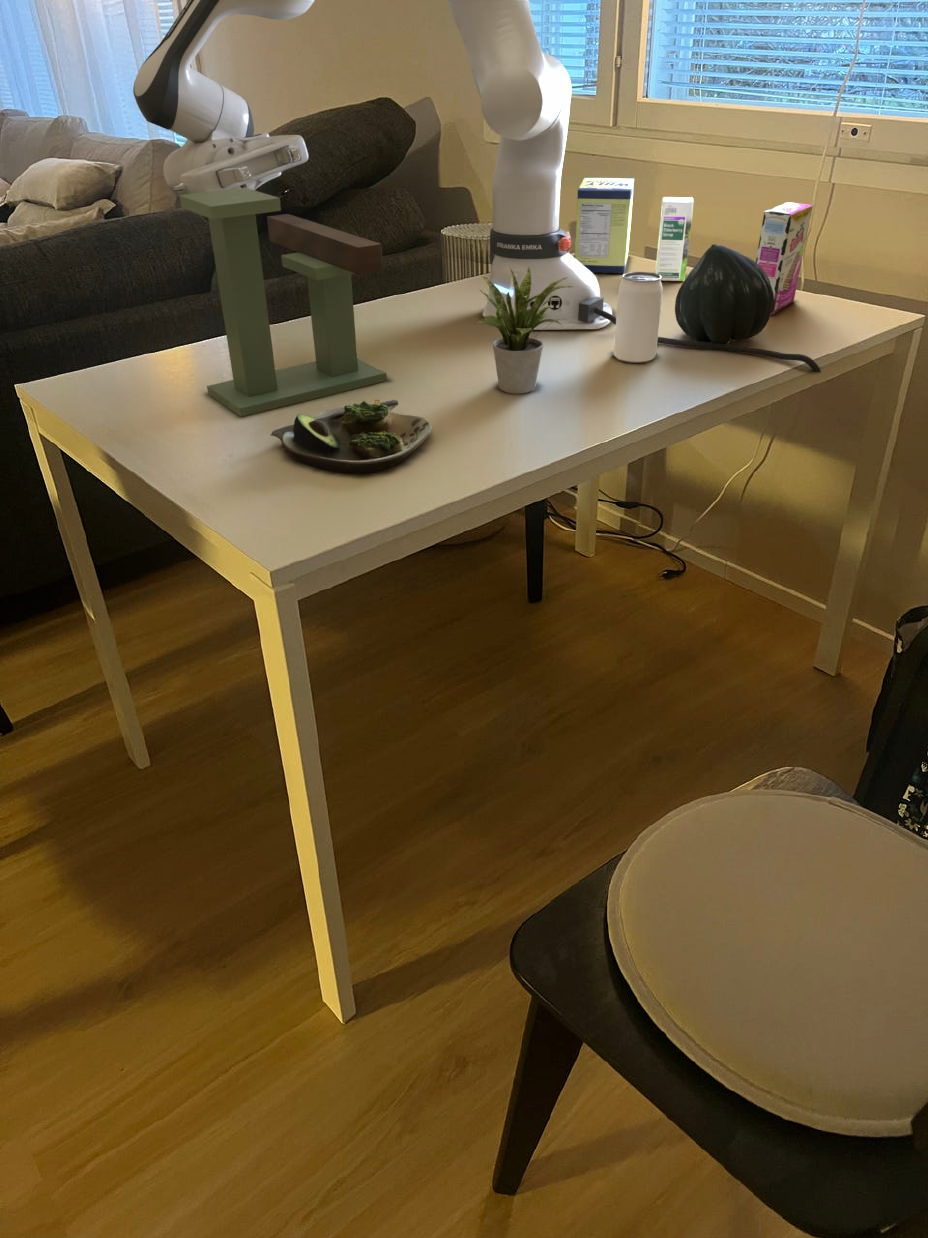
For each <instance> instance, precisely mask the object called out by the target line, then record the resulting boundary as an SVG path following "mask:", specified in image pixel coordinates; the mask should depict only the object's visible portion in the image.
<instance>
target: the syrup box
mask: <svg viewBox="0 0 928 1238" xmlns="http://www.w3.org/2000/svg"><path fill="white" fill-rule="evenodd" d="M694 204H695V203H694V198H693V197H692V196H691V197H690V196H689V197H681V196H680V197H679V196H678V197H677V196H676V197H675V196H663V197H662V200H661V208H660V209H661V210H660V218H659V219H660V220H659V230H658V231H659V232H658V240H657V251H656V262H655V271H654V273H656V274H658V275H660V276H661V279H660V281H661V282H663V281H664V282H684V281H685V279H686V275H687V264H688V258H689V257H688V256H689V249H690V247H689V246H690V240H691V239H690V238H691V229H692V221H693V214H694V213H693V212H694Z"/></svg>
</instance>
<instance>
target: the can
mask: <svg viewBox="0 0 928 1238" xmlns="http://www.w3.org/2000/svg"><path fill="white" fill-rule="evenodd" d="M660 279H661V276H660V275H658V274H656V273H655V272H652V271H630V272H626V273H623V274H622V280H621V281H620V283H619V285H618V292H617V293H618V294H617V304H616V316H615V317H616V325H615V328H614V329H615V330H614V340H613V342H614V343H613V356H614V357H615V359H617V360H618V361H621V362H623V363H631V364H644V363H648V362H651V361H653V360H654V358H656V356H657V348H658V343H657V341H658V337H659V332H660V320H661V312H662V301H663V292H664V291H663V290H664V289H663V284H662V281H661V280H660Z"/></svg>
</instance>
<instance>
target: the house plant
mask: <svg viewBox="0 0 928 1238" xmlns="http://www.w3.org/2000/svg"><path fill="white" fill-rule="evenodd" d="M510 270H511V268H510ZM511 273H512V278H513V283H514V291H515V318H514V312H513V308H512V304H511V297H510V293H509V292H508V293H507V295H506V301H507V305H508V309H509V312H508V309H507V305H506V303H505V301H504V299H503V297H502V294H501V293H500V291H499V289H498V288H497V287H496V286H495V285H494V284H493V283H492V282H491V281H490V278H488V277H485V276H483V275H480V276H481V278H483V279H484V281H485V283H486V284H487V285H488V288H489V287H490V289H491V291H492V293H493V295H494V298H495V300H496V303H497V304H496V303H495V302H494V301H493V300H492V299H491V298H490V297H489V296H488V295H487V294H488V293H486V292H485V291H483V290H482V289H481V288H478V290H479V292H481V293H482V294H483V295H484V296H485V297H486V299H487V298H488V299H489V301H490V302H491V303H492V304H493V305H494V306H495V308H496V309H497V311H496V316H497V317H495V316H486V318H485V317H483V318H480V319H478V320H477V321H476V322H475V323H474V324H477V323H478V324H479V323H480V324H490V325H494V326H495V328H496V329H497V330H498V331H499V333H500V335H501V338H498V339H495V340H494V341H493V343H492V349H493V355H494V361H495V369H496V376H497V383H498V388H499V389H500V390H501V391H502V392H506V393H508V394H527V393H530V392H533V391H534V390H535V389H536V385H537V381H538V376H539V370H540V366H541V360H542V355H543V350H544V342H543V341H542V340H541V339H538V338H536V337H537V336H538V335H539V334H540V332H538V333H537V334H536V335H535V336H534V337H531V334H532V332H533V331H534V330H533V329H534V328H535V327H537V326H538V325H539V324H541V323H544V322H551V323H552V322H556V323H559V324H560V325H562V324H561V323H560V322H558V321H557V320H566V319H557V320H554V319H545V320H542V319H543V318H545V317H546V316H548V315H547V314H544V312H545V311H546V310H547V309H548V308H549V307H552V306H554V305H551V306H547V307H545V308H543V309H542V310H541V311H540V309H539V308H540V306H541V305H542V303H543V301H544V300H545V299H546V297H547V296H548V295H549V294H550V293H551V292H553V291H555V290H557V289H560V288H569V287H571V286H561V287H560V286H557V287H554V286H555V285H556V284H557V283H559V282H560V281H562V280H564V279H566V278H567V277H566V278H563V279H559V280H557V281H555V282H553V283H552V284H550V285H549V286H548V287H547V288H545V289H544V290H543V291H542V293H541V294H538V295H536V296H534V297H532V298H530V299H529V295H530V290H531V272H530V269H529V268H528V271H527V275H526V276H525V277H524V278H523V281H522V283H521V286H520V288H519V286H518V283H517V281H516V278H515V275H514V272H513V271H512V270H511ZM535 298H537V299H536V300H535V302H534V304H533V305H532V307H531V309H528V310H527V306H528V303H529V302H530V301H532V300H534V299H535ZM551 300H559V299H550V300H548V301H546V302H545V303H547V302H549V301H551ZM545 303H544V304H545ZM544 304H543V305H544ZM543 305H542V306H543ZM542 306H541V307H542ZM537 312H538V313H537ZM509 314H510V315H509ZM531 316H532V317H531ZM549 316H550V315H549ZM530 318H531V319H530ZM502 320H503V321H502ZM529 320H530V321H529ZM540 320H542V321H540ZM503 322H504V323H503ZM528 322H529V323H528ZM551 323H550V324H551ZM504 324H505V325H504ZM527 324H528V325H527ZM546 327H547V326H546ZM546 327H545V328H546ZM545 328H544V329H545Z"/></svg>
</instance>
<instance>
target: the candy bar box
mask: <svg viewBox="0 0 928 1238" xmlns="http://www.w3.org/2000/svg"><path fill="white" fill-rule="evenodd" d="M813 207H814V205H813V204H808V203H807V204H806V203H799V202H788V201H787V202H784V203H782V204H779V205H777V206H775V207H771V208H770V209H767V210H764V211H763V215H762V216H763V217H762V223H761V229H760V234H759V239H758V246H757V251H756V257H755V262H756V263H757V264H758V265H759V266H760V267H761V268H762V269H763V270H764V271H765V273H766V274H767V276H768V278H769V280H770V284H771V286H772V290H773V294H774V301H773V308H772V312H771V316H772V315H774V314H775V313H777V312H778V311H781V309H783V308H785V307H786V306H788V305H790V304H791V303H792V302H794V301H795V296H796V292H797V287H798V283H799V276H800V271H801V266H802V261H803V256H804V251H805V248H806V247H805V246H806V241H807V237H808V233H809V228H810V222H811V217H812V213H813V212H812V211H813Z"/></svg>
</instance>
